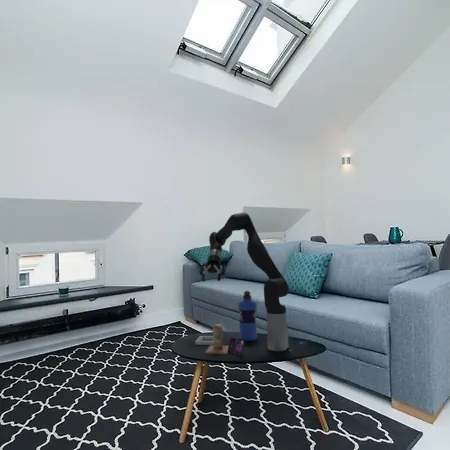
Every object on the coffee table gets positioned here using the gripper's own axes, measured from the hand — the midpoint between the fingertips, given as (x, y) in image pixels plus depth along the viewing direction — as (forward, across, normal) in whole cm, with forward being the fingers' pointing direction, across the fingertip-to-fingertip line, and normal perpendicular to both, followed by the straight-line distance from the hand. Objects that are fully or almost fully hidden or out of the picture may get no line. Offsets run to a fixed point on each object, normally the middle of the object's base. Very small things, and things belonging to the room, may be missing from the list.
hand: (210, 280), depth 186 cm
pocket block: (+29, 0, +15) cm, 32 cm away
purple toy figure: (+40, +18, +4) cm, 44 cm away
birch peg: (+38, +8, +4) cm, 39 cm away
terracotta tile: (+38, +8, +5) cm, 39 cm away
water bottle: (+24, +20, +20) cm, 37 cm away
